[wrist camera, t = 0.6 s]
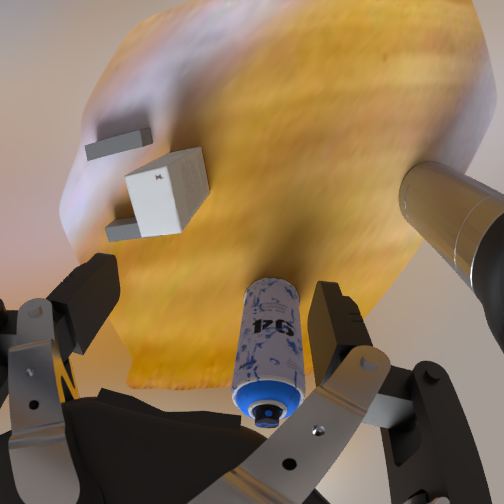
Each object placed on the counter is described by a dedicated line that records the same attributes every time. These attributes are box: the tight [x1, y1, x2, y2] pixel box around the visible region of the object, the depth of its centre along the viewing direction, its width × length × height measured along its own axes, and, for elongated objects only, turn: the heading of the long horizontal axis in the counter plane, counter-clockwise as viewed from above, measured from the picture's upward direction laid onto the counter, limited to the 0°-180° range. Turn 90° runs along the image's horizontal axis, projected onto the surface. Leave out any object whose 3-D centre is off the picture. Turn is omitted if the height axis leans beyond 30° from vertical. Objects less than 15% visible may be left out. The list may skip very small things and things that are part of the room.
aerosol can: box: [231, 277, 306, 428], centre depth 33 cm, size 8×8×20 cm
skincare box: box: [125, 147, 210, 237], centre depth 29 cm, size 6×4×12 cm
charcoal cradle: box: [85, 128, 162, 242], centre depth 34 cm, size 8×13×3 cm, turn 7°
